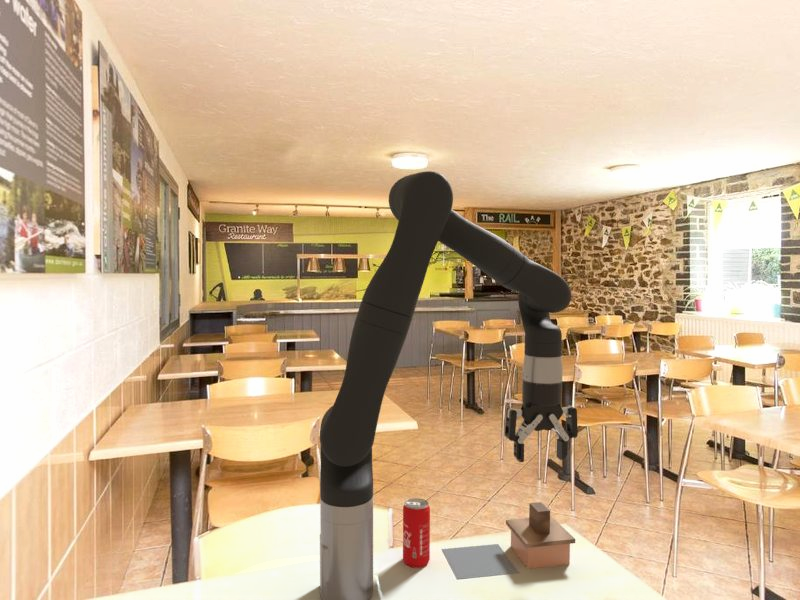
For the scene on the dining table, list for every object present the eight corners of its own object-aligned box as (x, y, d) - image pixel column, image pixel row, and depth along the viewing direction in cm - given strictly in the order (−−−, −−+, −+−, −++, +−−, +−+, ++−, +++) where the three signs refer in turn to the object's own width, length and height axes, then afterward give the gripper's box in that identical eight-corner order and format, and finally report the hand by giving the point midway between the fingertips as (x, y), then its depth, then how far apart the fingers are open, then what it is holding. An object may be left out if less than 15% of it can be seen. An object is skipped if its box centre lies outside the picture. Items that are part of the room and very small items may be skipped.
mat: (457, 582, 99) (457, 579, 99) (441, 552, 110) (441, 549, 110) (519, 575, 101) (519, 572, 101) (498, 546, 112) (498, 543, 112)
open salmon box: (527, 571, 103) (528, 545, 103) (510, 548, 111) (511, 524, 111) (569, 566, 105) (569, 541, 104) (549, 545, 113) (549, 521, 113)
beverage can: (427, 572, 102) (427, 510, 102) (400, 569, 104) (400, 507, 103) (431, 558, 108) (431, 498, 107) (405, 555, 109) (405, 496, 108)
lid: (525, 547, 102) (526, 520, 102) (505, 523, 112) (506, 498, 111) (575, 543, 104) (575, 515, 103) (551, 519, 114) (551, 494, 113)
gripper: (515, 382, 101) (513, 468, 102) (585, 380, 104) (583, 464, 105) (500, 375, 109) (499, 455, 109) (566, 373, 111) (564, 451, 112)
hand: (540, 459), depth 107 cm, fingers open, 8 cm apart
